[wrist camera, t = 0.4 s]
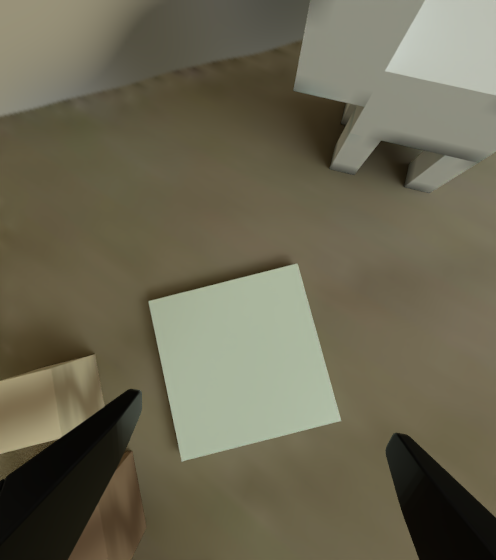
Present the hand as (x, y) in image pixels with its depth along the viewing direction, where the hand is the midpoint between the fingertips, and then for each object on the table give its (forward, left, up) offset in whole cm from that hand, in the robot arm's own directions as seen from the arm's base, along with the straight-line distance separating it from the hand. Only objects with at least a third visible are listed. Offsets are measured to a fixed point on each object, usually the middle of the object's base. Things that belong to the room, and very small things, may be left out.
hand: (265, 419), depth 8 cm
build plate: (0, +2, -14) cm, 14 cm away
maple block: (+1, +18, -14) cm, 22 cm away
